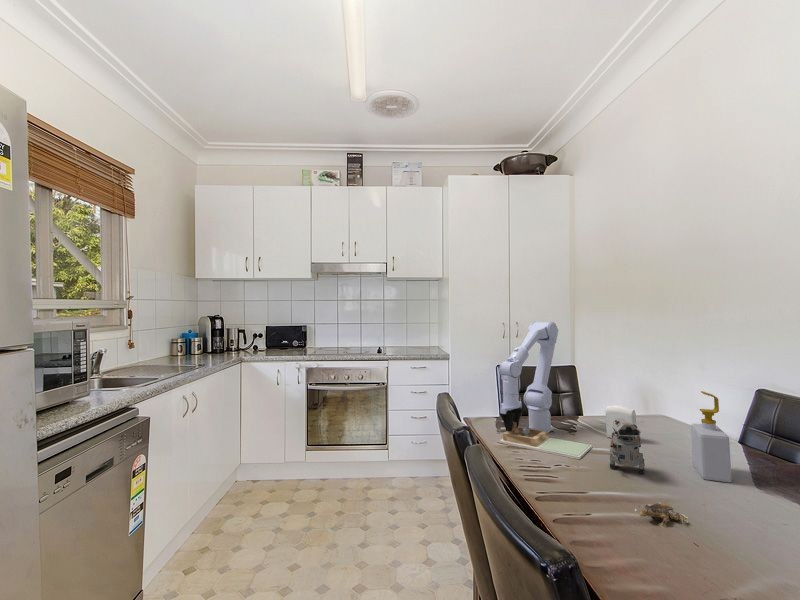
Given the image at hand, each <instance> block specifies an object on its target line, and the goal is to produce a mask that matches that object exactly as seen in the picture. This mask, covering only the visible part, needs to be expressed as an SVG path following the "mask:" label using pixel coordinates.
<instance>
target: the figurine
mask: <svg viewBox="0 0 800 600" xmlns="http://www.w3.org/2000/svg"><path fill="white" fill-rule="evenodd" d="M613 423H614V424H613V426H612V428H613V430H614V431H615V433H614V432H613V433H612V438H610V443H609V445H610V449H609V469H610V470H611V469H612V470H614V469H615V466H616V464H617V465H619V466H620V465H621V466H627V467H637V466H638V467H639V468H638V469H639V470H638V471H639V474H640V475H645V467H646V465H645V464H646V463H645V459H644V453H643V452H640V448H642V443H641V432H642V431H641V430H639V429H638V426H637V424H636V425H635V424H633V425H632V424H631V423H630V422H628V421H627V420H626V419H615V420H614V421H613ZM615 434H616V435H615ZM635 436H637V438H636V437H635Z"/></svg>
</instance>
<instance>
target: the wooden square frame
mask: <svg viewBox="0 0 800 600" xmlns="http://www.w3.org/2000/svg"><path fill="white" fill-rule="evenodd" d="M522 427H523V426H519V425H518V428H517V427H516V422H513V427H512V431H505V432H504V433H502V439H503V440H504V441H509V442H514V443H518V444H523V445H528V446H533V447H536V446H537V445H539V444H540V443H541V442H543V441H544V440H546V439H547V438H548V437H549V436H548V435H549V433H548V431H542V430H537V429H531V428H529V427H528V428H529V430H530V436H532V437H533V438H531V437H526V436H520V435H519V434H521V428H522Z"/></svg>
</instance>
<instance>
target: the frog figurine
mask: <svg viewBox="0 0 800 600" xmlns="http://www.w3.org/2000/svg"><path fill="white" fill-rule="evenodd" d="M640 507H641V506H640V505H638V506H637V507H636V508H634V511H635V512H636V511H638V508H640ZM673 511H674V508H673V507H672V506H671V505H670V504H668V503H667V502H666V501H662V502H656V503H654V504H653V503H652V504H648V503H646V504H645V505H644V508H643V509H642V510H641V511H640V512H638V516H639V517H643V518H644V517H646V518H650V519H651V518H653V519H655V520H657V521H660V523H657V525H658V526H659V527H660V528H667V527H668V525H667V523H668V522H669V521H671V520H672V519H673V520H677V522H678V523H679V524H680V525H683V526H685V525H686V524H687V523H689V521H688V519H689V517H688V516H687V515H686V514H684V513H681V512H673Z"/></svg>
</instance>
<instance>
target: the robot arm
mask: <svg viewBox="0 0 800 600" xmlns="http://www.w3.org/2000/svg"><path fill="white" fill-rule="evenodd" d="M527 327H528V328H527V331H528V332H527V335H526V336H525V338H524V340H523V341H522V343H521V344H520V346H516V347H515V348H514V349H513V350H512V352H511V354H510V355H509V356H508V357H507V359H506V360H504V361H502V362H501V363H500V364H499V368H498V373H499V374H500V379H501V380H502V397H503V398H502V399H503V401H502V403H500V406H501V407H499V408H500V409H499V416H500V417H501V419H502V421H503V425H504V429H505V432H507V431H512V427H513V422H516V427H517V428H518V426H519V424H520V419H521V417H522V413H523V412H524V408H521V407H523V406H522V405H523V404H525V406H526V409H528V428H531V429H537V430H542V431H548V434H549V433H550V432H551V431H553V430H554V428H553V427H552V418H551V416H552V415H551V412H550V408H551V407H552V403H553V400H552V399H553V397H552V395H553V392H552V390H551V389H550V388H549V386H548V383H549V378H550V373H551V368H552V363H553V357H554V353H555V347H556V344H557V340H558V335H559V329H558V326H557V324H556V323H555V322H554V321H532V322H531V323H530V325H529V326H527ZM536 343H538V344H539V345H540V348H539V352H538V357H537V364H536V368H535V372H534V373H535V374H534V376H533V381H532V383H531V384H529V385H528V386H527V387H526V391H525V392H524V395H523V403H522V401H520V399H519V398H520V397H519V393H520V392H519V377H520V376H521V374H522V369H523V366H524V363H525V362H526V361H527V359H528V358H529V356H530V355H529V351H530V350H531V349H532V347H533V346H534V345H535V344H536Z"/></svg>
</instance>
